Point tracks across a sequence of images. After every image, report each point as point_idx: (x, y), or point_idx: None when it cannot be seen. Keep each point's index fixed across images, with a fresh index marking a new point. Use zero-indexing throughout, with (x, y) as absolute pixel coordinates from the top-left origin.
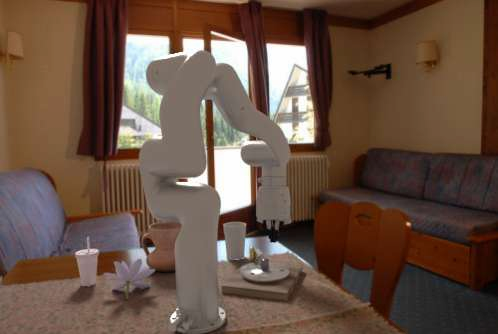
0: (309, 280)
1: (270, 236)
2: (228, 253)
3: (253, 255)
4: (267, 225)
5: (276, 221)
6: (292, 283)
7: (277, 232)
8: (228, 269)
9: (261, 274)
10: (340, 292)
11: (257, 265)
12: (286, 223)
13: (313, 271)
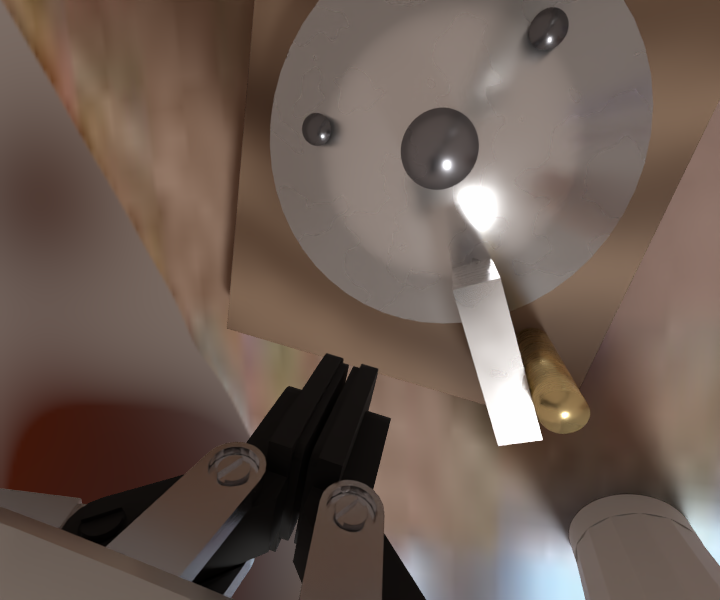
0: (202, 190)
1: (359, 402)
2: (706, 550)
3: (535, 362)
4: (370, 545)
5: (163, 568)
6: (254, 1)
7: (258, 431)
8: (692, 360)
9: (467, 19)
10: (48, 31)
11: (498, 236)
12: (40, 503)
13: (196, 316)
